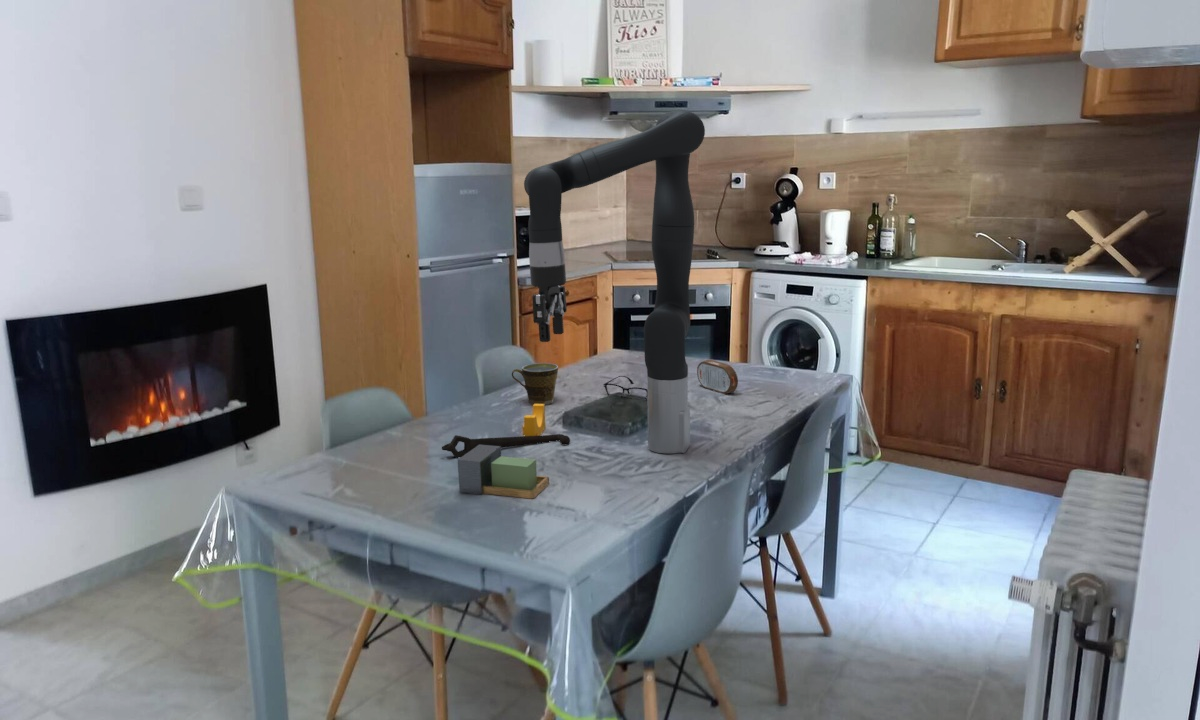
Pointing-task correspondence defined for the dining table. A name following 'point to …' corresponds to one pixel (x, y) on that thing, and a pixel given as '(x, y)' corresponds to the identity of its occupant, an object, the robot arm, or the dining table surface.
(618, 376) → the eyeglasses
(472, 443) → the wrench
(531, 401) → the ceramic cup
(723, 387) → the tin
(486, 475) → the grey block with frame
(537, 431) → the pipe clamp
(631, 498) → the dining table surface
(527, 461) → the sage green upright block
